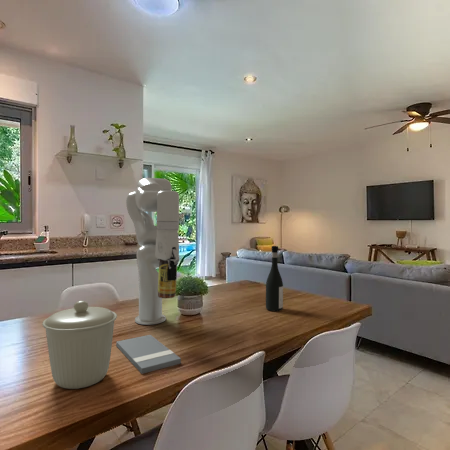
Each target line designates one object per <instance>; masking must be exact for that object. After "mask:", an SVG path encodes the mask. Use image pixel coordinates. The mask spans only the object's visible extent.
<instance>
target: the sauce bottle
mask: <svg viewBox="0 0 450 450" xmlns="http://www.w3.org/2000/svg"><path fill="white" fill-rule="evenodd" d="M170 259H173V258H170ZM171 263H172V262H171ZM167 269H169V268H168V262H167V261H165V260H161V259H160V263H159V268H158V273H159V276H158V297H160V298H162V299H174V298H175V296H176V292H177V281H178V280H177V279H176V280H170V281H168V280H167Z"/></svg>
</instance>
